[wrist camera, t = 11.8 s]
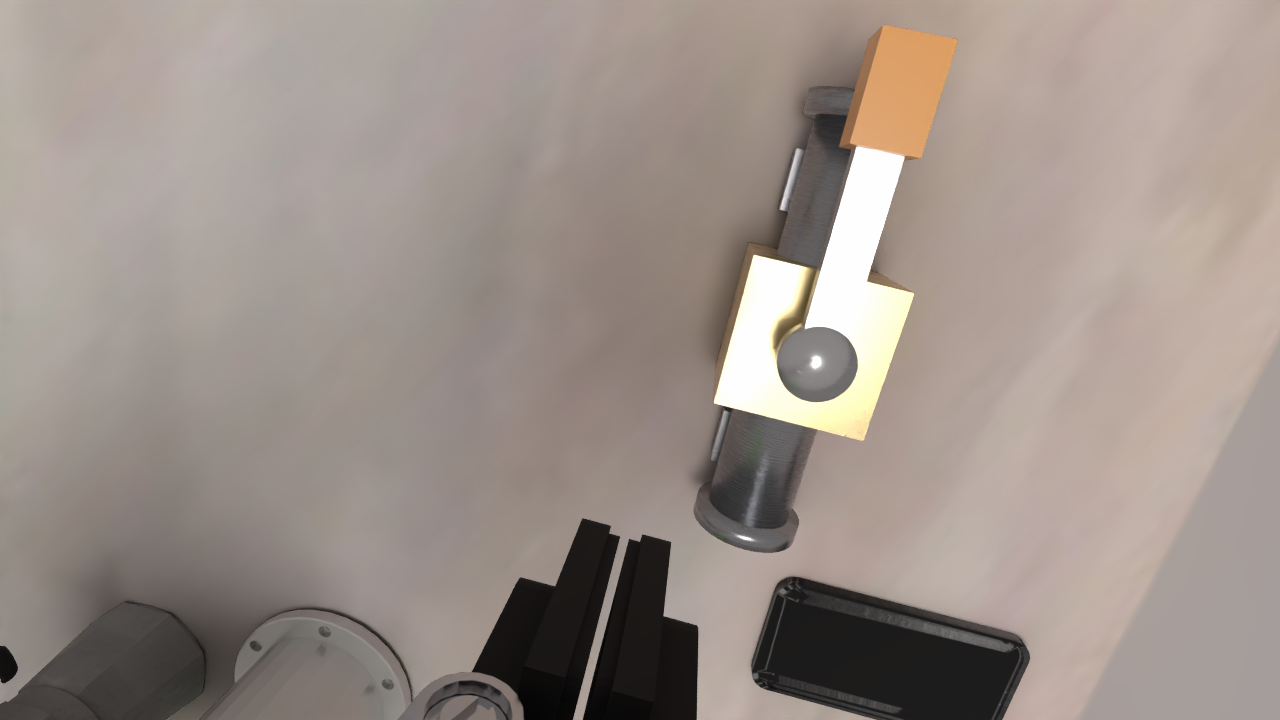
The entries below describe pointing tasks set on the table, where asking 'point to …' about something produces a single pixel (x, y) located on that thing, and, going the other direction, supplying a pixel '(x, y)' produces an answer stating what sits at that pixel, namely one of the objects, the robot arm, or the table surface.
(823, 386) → the valve lever
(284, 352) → the table surface
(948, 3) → the table surface
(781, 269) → the valve pipe
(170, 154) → the table surface
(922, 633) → the phone
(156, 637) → the coffeepot
